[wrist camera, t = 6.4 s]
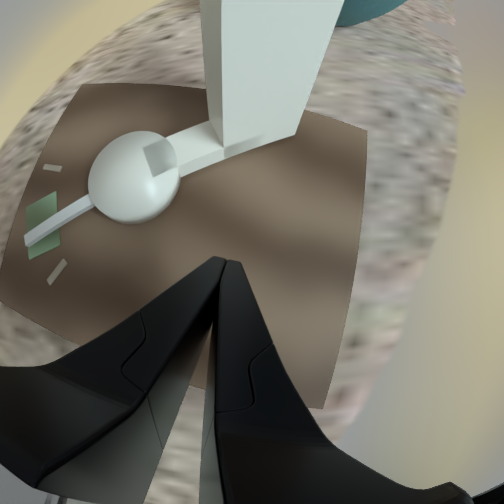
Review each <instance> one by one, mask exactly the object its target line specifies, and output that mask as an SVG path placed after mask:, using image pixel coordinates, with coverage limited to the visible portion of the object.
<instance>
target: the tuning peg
mask: <svg viewBox="0 0 504 504" xmlns="http://www.w3.org/2000/svg"><path fill="white" fill-rule="evenodd" d="M343 3H344V0H200V13H201V29H202V43H203V56H204V69H205V81H206V92H207V103H208V113H209V121H206V122H203V123H201V124H198V125H195V126H193V127H190V128H188V129H185V130H183V131H180V132H178V133H175V134H173V135H171V136H168V137H166V138H164V137H163V136H161V135H159V134H157V133H154V132H150V131H135V132H130V133H127V134H124V135H122V136H120V137H118V138H116V139H115V140H113V141H112V142H110V143H109V144H108V145H107V146H106V147H105V148H104V149H103V150H102V151H101V152H100V153H99V155H98V156H97V157H96V159H95V161H94V163H93V165H92V167H91V170H90V173H89V178H88V190H89V194H87V195H85V196H84V197H82V198H80V199H79V200H77V201H75V202H74V203H72V204H70V205H69V206H67V207H66V208H64V209H62V210H61V211H59V212H58V213H56V214H54V215H53V216H51V217H50V218H48V219H47V220H45V221H44V222H42V223H41V224H39V225H38V226H37V227H35V228H34V229H32V230H31V231H29V232H28V233H27V234H25V235H24V240H25V246H27V247H30V246H32V245H33V244H35V243H36V242H38V241H39V240H41V239H42V238H44V237H45V236H47V235H48V234H50V233H51V232H53V231H55V230H56V229H58V228H59V227H61V226H62V225H64V224H66V223H67V222H69V221H71V220H72V219H74V218H76V217H77V216H79V215H81V214H82V213H84V212H86V211H88V210H89V209H91V208H93V207H95V206H96V207H97V208H98V209H99V210H100V211H101V212H102V213H104V214H105V215H106V216H108V217H109V218H110V219H112V220H114V221H116V222H118V223H121V224H140V223H143V222H146V221H149V220H151V219H153V218H154V217H156V216H158V215H159V214H160V213H162V212H163V211H164V210H165V209H166V208H167V207H168V206H169V205H170V203H171V202H172V200H173V199H174V197H175V195H176V194H177V191H178V189H179V185H180V180H181V177H183V176H185V175H188V174H190V173H192V172H195V171H197V170H199V169H202V168H204V167H207V166H209V165H212V164H214V163H217V162H219V161H222V160H224V159H227V158H229V157H232V156H235V155H237V154H240V153H243V152H245V151H248V150H251V149H254V148H257V147H259V146H262V145H265V144H268V143H271V142H274V141H277V140H280V139H283V138H286V137H289V136H293V135H295V133H296V130H297V127H298V125H299V122H300V119H301V116H302V114H303V111H304V108H305V106H306V103H307V100H308V97H309V95H310V92H311V89H312V87H313V84H314V81H315V79H316V76H317V73H318V70H319V68H320V65H321V62H322V60H323V57H324V54H325V51H326V49H327V46H328V43H329V41H330V38H331V35H332V33H333V30H334V27H335V24H336V22H337V19H338V16H339V14H340V11H341V8H342V6H343Z"/></svg>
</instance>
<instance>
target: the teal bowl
mask: <svg viewBox="0 0 504 504" xmlns="http://www.w3.org/2000/svg"><path fill="white" fill-rule="evenodd" d="M406 1H407V0H344V3H343V6H342V8H341V11H340V14H339V16H338V19H337V22H336V24H335V26H350V25H355V24H358V23H362V22H365V21H368V20H371V19H373V18H376V17H378V16H381V15H383V14H385V13H388V12H389V11H391V10H393V9H395V8H397V7H398V6H400V5H401V4H403V3H404V2H406Z"/></svg>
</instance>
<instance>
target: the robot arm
mask: <svg viewBox="0 0 504 504" xmlns="http://www.w3.org/2000/svg"><path fill="white" fill-rule="evenodd" d="M211 326H212V329H211ZM210 330H211V337H210V347H209V358H208V369H207V380H206V392H205V404H204V418H203V432H202V448H201V466H200V487H199V504H504V482H503V483H502V484H500V485H498V486H496V487H493V488H491V489H489V490H487V491H485V492H483V493H481V494H478V495H476V496H473V497H470V495H469V494H468V493H467V492H466V491H465V490H463V489H462V488H460V487H458V486H457V485H455V484H454V483H452V482H447V483H444V484H441V485H438V486H435V487H432V488H429V489H424V490H422V489H413V488H409V487H405V486H403V485H401V484H398V483H396V482H394V481H393V480H391V479H389V478H387V477H385V476H383V475H381V474H380V473H378V472H376V471H374V470H373V469H371V468H369V467H367V466H366V465H364V464H362V463H361V462H359V461H358V460H356V459H354V458H352V457H351V456H349V455H348V454H346V453H345V452H343V451H342V450H340V449H339V448H337V447H336V446H335V445H334V444H333V443H332V442H331V441H330V440H329V439H328V438H327V437H326V436H325V435H324V433H323V432H322V431H321V429H320V427H319V426H318V424H317V423H316V421H315V419H314V418H313V416H312V415H311V413H310V411H309V410H308V408H307V406H306V405H305V403H304V401H303V400H302V398H301V396H300V395H299V393H298V391H297V390H296V388H295V386H294V384H293V383H292V381H291V379H290V377H289V375H288V374H287V372H286V370H285V367H284V365H283V363H282V361H281V359H280V357H279V354H278V352H277V349H276V347H275V345H274V344H273V340H272V337H271V335H270V333H269V330H268V328H267V325H266V323H265V320H264V318H263V315H262V313H261V310H260V308H259V306H258V303H257V301H256V298H255V296H254V293H253V291H252V288H251V286H250V283H249V281H248V278H247V276H246V273H245V271H244V268H243V266H242V263H241V262H239V261H235V260H231V259H228V260H226V258H222V257H218V256H212V257H211V258H209V259H208V260H207V261H205V262H204V263H202V264H201V265H200V266H198V267H197V268H195V269H194V270H193V271H191V272H190V273H188V274H187V275H186V276H184V277H183V278H181V279H180V280H179V281H177V282H176V283H174V284H173V285H172V286H170V287H169V288H167V289H166V290H165V291H163V292H162V293H161V294H159V295H158V296H156V297H155V298H154V299H152V300H151V301H150V302H148V303H147V304H145V305H144V306H143V307H141V308H140V309H139V311H138V310H137V311H136V312H134V313H133V314H132V315H130V316H129V317H127V318H126V319H125V320H123V321H122V322H120V323H119V324H117V325H116V326H114V327H113V328H111V329H110V330H108V331H106V332H105V333H103V334H101V335H100V336H98V337H96V338H95V339H93V340H91V341H89V342H88V343H86V344H84V345H82V346H81V347H79V348H77V349H75V350H74V351H72V352H70V353H68V354H67V355H65V356H63V357H61V358H60V359H58V360H56V361H54V362H51V363H49V364H45V365H42V366H35V367H5V366H0V504H143V503H144V500H145V497H146V495H147V492H148V489H149V487H150V484H151V481H152V479H153V476H154V473H155V471H156V468H157V466H158V463H159V460H160V458H161V455H162V453H163V449H164V447H165V445H166V442H167V439H168V437H169V434H170V432H171V429H172V426H173V424H174V421H175V419H176V416H177V414H178V411H179V408H180V406H181V403H182V401H183V398H184V396H185V393H186V391H187V388H188V386H189V383H190V380H191V378H192V375H193V373H194V370H195V368H196V365H197V363H198V360H199V358H200V355H201V353H202V350H203V348H204V345H205V343H206V340H207V338H208V335H209V332H210Z"/></svg>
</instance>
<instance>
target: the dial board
mask: <svg viewBox="0 0 504 504" xmlns="http://www.w3.org/2000/svg"><path fill="white" fill-rule="evenodd" d="M206 121H209V113H208V103H207V92H206V89H199V88H191V87H181V86H170V85H156V84H132V83H105V84H82V86H81V87H80V88H79V90H78V91H77V93H76V94H75V96H74V97H73V99H72V100H71V102H70V103H69V105H68V107H67V108H66V110H65V111H64V113H63V115H62V116H61V118H60V120H59V121H58V123H57V125H56V127H55V128H54V130H53V132H52V134H51V135H50V137H49V139H48V141H47V143H46V145H45V147H44V149H43V151H42V153H41V155H40V157H39V159H38V161H37V163H36V165H35V168H34V170H33V172H32V174H31V177H30V179H29V181H28V184H27V186H26V189H25V191H24V194H23V196H22V199H21V202H20V205H19V207H18V210H17V213H16V216H15V219H14V222H13V225H12V229H11V232H10V235H9V239H8V243H7V246H6V250H5V254H4V258H3V263H2V267H1V272H0V301H1V302H2V303H4V304H5V305H7V306H9V307H10V308H12V309H13V310H15V311H17V312H18V313H20V314H22V315H23V316H25V317H27V318H28V319H30V320H32V321H34V322H35V323H37V324H39V325H41V326H43V327H44V328H46V329H48V330H50V331H52V332H54V333H56V334H58V335H60V336H62V337H64V338H66V339H68V340H70V341H72V342H74V343H76V344H78V345H80V346H82V345H84V344H86V343H88V342H89V341H91V340H93V339H95V338H96V337H98V336H100V335H101V334H103V333H105V332H106V331H108V330H110V329H111V328H113V327H114V326H116V325H117V324H119V323H120V322H122V321H123V320H125V319H126V318H127V317H129V316H130V315H132V314H133V313H134V312H136V311H137V310H138V311H139V309H140V308H141V307H143V306H144V305H145V304H147V303H148V302H150V301H151V300H152V299H154V298H155V297H156V296H158V295H159V294H161V293H162V292H163V291H165V290H166V289H167V288H169V287H170V286H172V285H173V284H174V283H176V282H177V281H179V280H180V279H181V278H183V277H184V276H186V275H187V274H188V273H190V272H191V271H193V270H194V269H195V268H197V267H198V266H200V265H201V264H202V263H204V262H205V261H207V260H208V259H209V258H211V257H212V256H218V257H222V258H226V260H228V259H231V260H235V261H239V262H241V263H242V266H243V268H244V271H245V273H246V276H247V278H248V281H249V283H250V286H251V288H252V291H253V293H254V296H255V298H256V301H257V303H258V306H259V308H260V310H261V313H262V315H263V318H264V320H265V323H266V325H267V328H268V330H269V333H270V335H271V337H272V340H273V344H274V345H275V347H276V349H277V352H278V354H279V357H280V359H281V361H282V363H283V365H284V367H285V370H286V372H287V374H288V375H289V377H290V379H291V381H292V383H293V384H294V386H295V388H296V390H297V391H298V393H299V395H300V396H301V398H302V400H303V401H304V403H305V405H306V406H307V408H317V409H323V406H324V403H325V400H326V396H327V393H328V390H329V386H330V383H331V379H332V376H333V372H334V368H335V364H336V360H337V357H338V353H339V348H340V344H341V340H342V336H343V331H344V327H345V322H346V317H347V313H348V308H349V303H350V297H351V292H352V286H353V280H354V274H355V268H356V262H357V255H358V248H359V240H360V232H361V223H362V214H363V204H364V192H365V178H366V159H367V131H366V130H363V129H361V128H358V127H355V126H353V125H350V124H347V123H344V122H341V121H338V120H335V119H332V118H329V117H326V116H323V115H320V114H316V113H313V112H310V111H306V110H304V111H303V114H302V116H301V119H300V122H299V125H298V127H297V130H296V133H295V135H293V136H289V137H286V138H283V139H280V140H277V141H274V142H271V143H268V144H265V145H262V146H259V147H257V148H254V149H251V150H248V151H245V152H243V153H240V154H237V155H235V156H232V157H229V158H227V159H224V160H222V161H219V162H217V163H214V164H212V165H209V166H207V167H204V168H202V169H199V170H197V171H195V172H192V173H190V174H188V175H185V176H183V177H181V180H180V185H179V189H178V191H177V194H176V195H175V197H174V199H173V200H172V202H171V203H170V205H169V206H168V207H167V208H166V209H165V210H164V211H163V212H162V213H160V214H159V215H158V216H156V217H154V218H153V219H151V220H149V221H146V222H143V223H140V224H121V223H118V222H116V221H114V220H112V219H110V218H109V217H108V216H106V215H105V214H104V213H102V212H101V211H100V210H99V209H98V208H97V207H96V206H95V207H93V208H91V209H89V210H88V211H86V212H84V213H82V214H81V215H79V216H77V217H76V218H74V219H72V220H71V221H69V222H67V223H66V224H64V225H62V226H61V227H59V228H58V229H56V230H55V231H53V232H51V233H50V234H48V235H47V236H45V237H44V238H42V239H41V240H39V241H38V242H36V243H35V244H33V245H32V246H30V247H27V246H25V240H24V235H25V234H27V233H28V232H29V231H31V230H32V229H34V228H35V227H37V226H38V225H39V224H41V223H42V222H44V221H45V220H47V219H48V218H50V217H51V216H53V215H54V214H56V213H58V212H59V211H61V210H62V209H64V208H66V207H67V206H69V205H70V204H72V203H74V202H75V201H77V200H79V199H80V198H82V197H84V196H85V195H87V194H89V190H88V178H89V173H90V170H91V167H92V165H93V163H94V161H95V159H96V157H97V156H98V155H99V153H100V152H101V151H102V150H103V149H104V148H105V147H106V146H107V145H108V144H109V143H110V142H112V141H113V140H115V139H116V138H118V137H120V136H122V135H124V134H127V133H130V132H135V131H150V132H154V133H157V134H159V135H161V136H163V137H164V138H166V137H168V136H171V135H173V134H175V133H178V132H180V131H183V130H185V129H188V128H190V127H193V126H195V125H198V124H201V123H203V122H206ZM211 329H212V326H211ZM210 337H211V330H210V332H209V335H208V338H207V340H206V343H205V345H204V348H203V350H202V353H201V355H200V358H199V360H198V363H197V365H196V368H195V370H194V373H193V375H192V378H191V380H190V383H189V385H191V386H194V387H198V388H202V389H206V380H207V369H208V358H209V347H210Z"/></svg>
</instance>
